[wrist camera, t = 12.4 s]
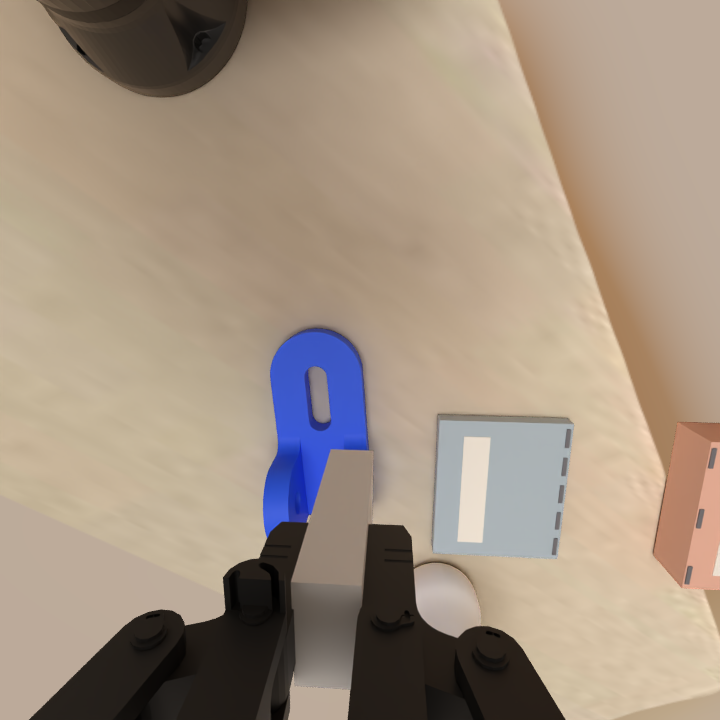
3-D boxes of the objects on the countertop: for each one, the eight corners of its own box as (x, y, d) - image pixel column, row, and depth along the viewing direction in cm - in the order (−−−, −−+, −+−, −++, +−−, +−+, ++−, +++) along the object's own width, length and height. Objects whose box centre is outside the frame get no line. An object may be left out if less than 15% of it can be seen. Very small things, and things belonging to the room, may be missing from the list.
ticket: (437, 414, 43) (439, 420, 41) (567, 418, 42) (574, 424, 41) (431, 543, 46) (433, 554, 45) (551, 549, 45) (557, 559, 44)
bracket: (372, 501, 46) (369, 560, 37) (292, 503, 46) (269, 562, 38) (359, 325, 42) (351, 345, 33) (270, 331, 42) (239, 352, 34)
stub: (677, 421, 41) (712, 442, 37) (734, 423, 41) (777, 444, 37) (653, 555, 45) (682, 589, 40) (706, 557, 44) (741, 592, 40)
